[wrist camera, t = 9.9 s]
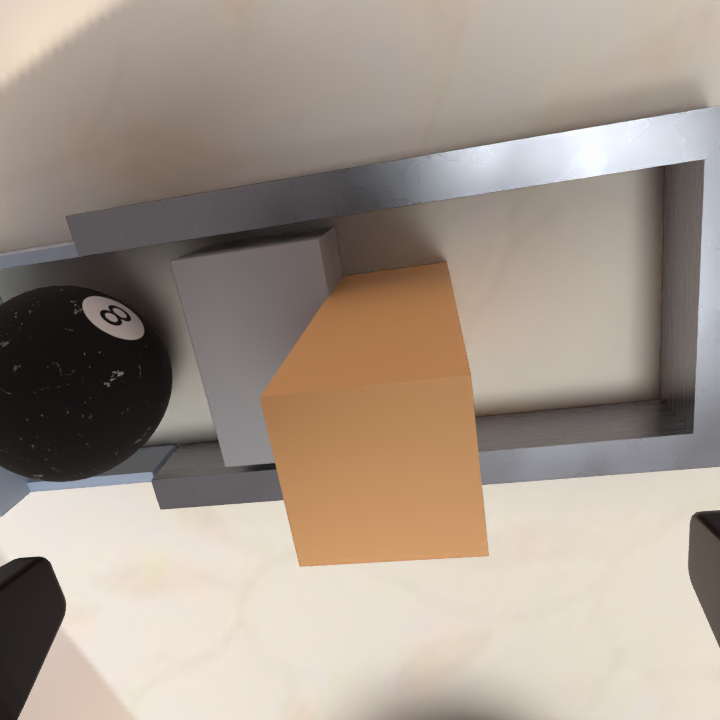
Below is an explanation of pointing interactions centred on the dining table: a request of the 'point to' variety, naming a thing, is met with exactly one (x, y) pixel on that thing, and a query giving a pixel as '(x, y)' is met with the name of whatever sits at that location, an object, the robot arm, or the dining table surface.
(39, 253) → the grey u-shaped end bracket
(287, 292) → the two-tone block
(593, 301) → the dining table surface
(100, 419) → the billiard ball
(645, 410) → the grey rectangular frame
